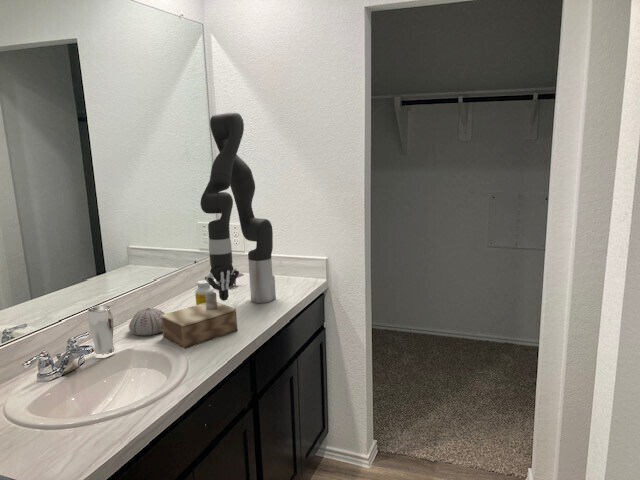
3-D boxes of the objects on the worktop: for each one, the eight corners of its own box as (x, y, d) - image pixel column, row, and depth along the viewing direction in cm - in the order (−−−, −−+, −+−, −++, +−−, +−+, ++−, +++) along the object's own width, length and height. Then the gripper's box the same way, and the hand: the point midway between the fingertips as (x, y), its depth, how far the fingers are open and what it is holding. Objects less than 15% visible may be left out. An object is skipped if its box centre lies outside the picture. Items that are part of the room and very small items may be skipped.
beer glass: (93, 361, 153) (87, 313, 150) (92, 353, 159) (86, 307, 156) (118, 356, 156) (112, 309, 153) (115, 348, 162) (110, 303, 159)
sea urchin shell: (153, 340, 168) (150, 317, 167) (120, 336, 173) (117, 313, 172) (177, 326, 181) (175, 304, 179) (146, 322, 185) (144, 301, 184)
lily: (249, 287, 228) (244, 267, 231) (238, 284, 217) (233, 263, 220) (225, 295, 230) (220, 275, 233) (213, 292, 219) (208, 271, 222)
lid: (213, 302, 182) (212, 287, 181) (236, 310, 172) (234, 294, 171) (161, 316, 168) (159, 300, 167) (182, 326, 158) (181, 309, 157)
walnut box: (214, 321, 183) (213, 302, 182) (237, 330, 173) (236, 311, 172) (163, 337, 170) (161, 317, 168) (184, 348, 160) (182, 327, 158)
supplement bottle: (211, 318, 187) (208, 284, 185) (194, 317, 188) (191, 284, 186) (218, 312, 194) (215, 279, 191) (201, 311, 195) (199, 279, 192)
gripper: (230, 246, 180) (233, 293, 184) (197, 253, 171) (201, 302, 175) (242, 249, 175) (246, 297, 178) (209, 256, 166) (213, 306, 169)
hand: (224, 299), depth 176 cm, fingers closed
